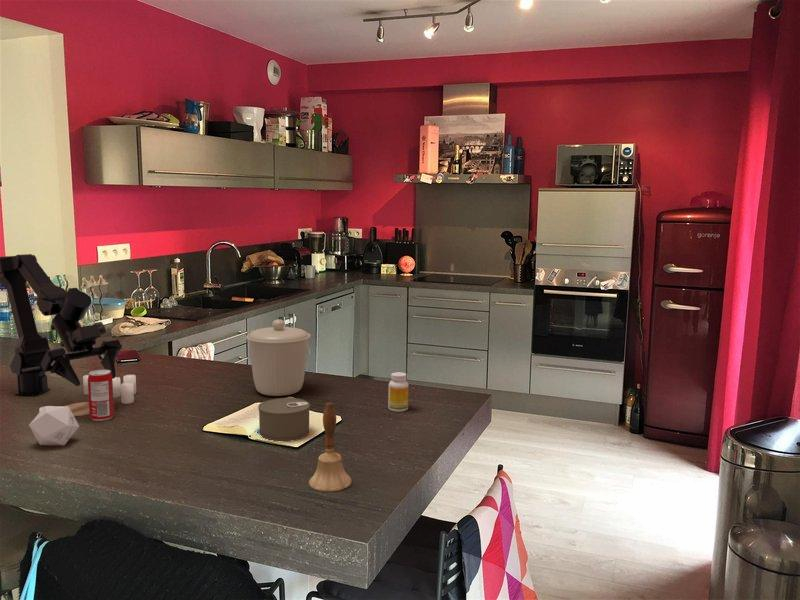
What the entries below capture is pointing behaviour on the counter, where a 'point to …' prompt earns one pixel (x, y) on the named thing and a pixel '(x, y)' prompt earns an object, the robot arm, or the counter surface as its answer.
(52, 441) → the die
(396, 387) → the supplement bottle
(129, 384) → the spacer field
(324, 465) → the hand bell
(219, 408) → the counter surface
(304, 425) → the can
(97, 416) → the soda can
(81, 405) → the coaster
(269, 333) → the canister
